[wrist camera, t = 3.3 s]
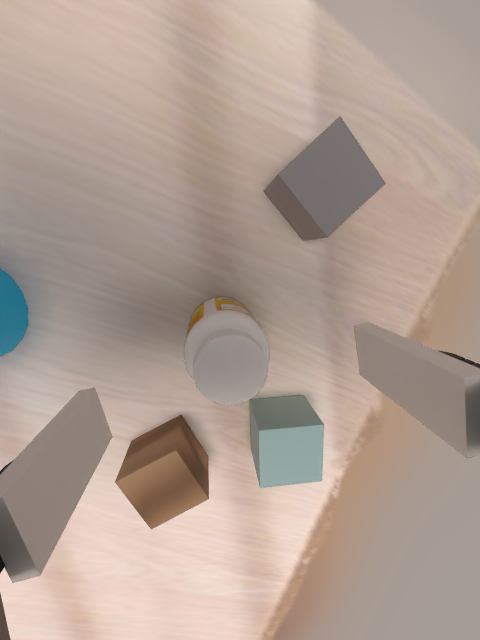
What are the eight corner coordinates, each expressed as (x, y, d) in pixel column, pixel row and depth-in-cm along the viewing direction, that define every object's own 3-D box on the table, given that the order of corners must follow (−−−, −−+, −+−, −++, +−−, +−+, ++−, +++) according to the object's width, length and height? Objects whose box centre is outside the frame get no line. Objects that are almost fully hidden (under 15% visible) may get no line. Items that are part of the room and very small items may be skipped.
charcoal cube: (263, 191, 23) (278, 174, 18) (311, 145, 23) (340, 116, 18) (302, 240, 24) (327, 237, 19) (349, 197, 24) (385, 183, 19)
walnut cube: (131, 440, 26) (115, 482, 22) (181, 414, 26) (175, 450, 22) (160, 481, 28) (151, 529, 23) (208, 455, 28) (208, 499, 23)
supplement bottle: (204, 367, 26) (203, 433, 16) (178, 310, 24) (161, 346, 15) (262, 343, 26) (294, 395, 16) (239, 286, 24) (261, 305, 15)
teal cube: (249, 398, 27) (258, 430, 22) (303, 394, 27) (323, 424, 22) (250, 447, 28) (260, 488, 23) (302, 442, 28) (322, 480, 24)
